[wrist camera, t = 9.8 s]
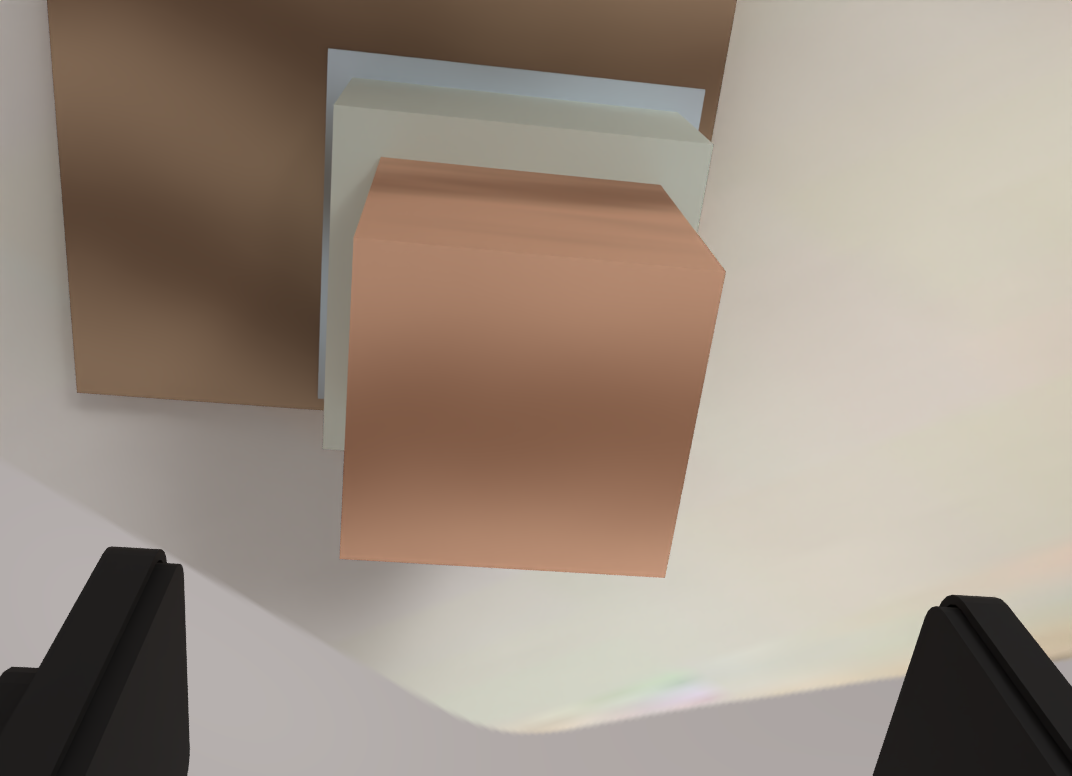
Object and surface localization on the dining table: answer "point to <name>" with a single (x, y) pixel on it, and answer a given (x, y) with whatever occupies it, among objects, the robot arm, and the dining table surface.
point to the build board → (288, 157)
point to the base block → (485, 141)
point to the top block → (522, 370)
